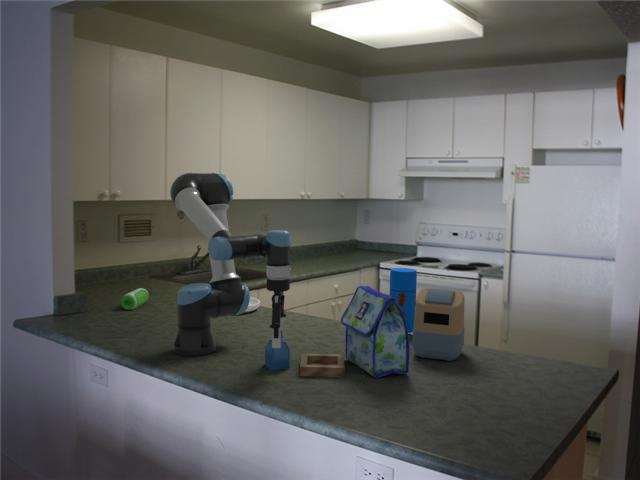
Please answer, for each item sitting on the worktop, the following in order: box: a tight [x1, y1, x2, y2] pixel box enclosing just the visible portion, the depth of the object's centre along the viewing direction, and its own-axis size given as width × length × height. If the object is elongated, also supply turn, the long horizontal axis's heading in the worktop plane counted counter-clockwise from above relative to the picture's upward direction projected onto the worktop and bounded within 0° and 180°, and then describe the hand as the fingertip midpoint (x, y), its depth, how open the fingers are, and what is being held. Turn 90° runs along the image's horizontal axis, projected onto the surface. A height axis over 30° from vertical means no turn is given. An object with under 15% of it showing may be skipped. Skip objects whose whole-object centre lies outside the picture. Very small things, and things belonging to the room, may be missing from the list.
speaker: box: [120, 287, 150, 311], centre depth 283 cm, size 18×7×8 cm, turn 174°
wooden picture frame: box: [299, 353, 346, 378], centre depth 198 cm, size 14×14×3 cm
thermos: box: [388, 267, 418, 334], centre depth 249 cm, size 11×11×25 cm
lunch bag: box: [340, 285, 411, 379], centre depth 199 cm, size 22×17×26 cm
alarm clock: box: [412, 287, 466, 362], centre depth 215 cm, size 17×17×23 cm
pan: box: [243, 296, 261, 314], centre depth 287 cm, size 25×44×6 cm, turn 51°
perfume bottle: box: [264, 330, 291, 371], centre depth 200 cm, size 6×6×12 cm
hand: (278, 342), depth 199 cm, fingers open, 13 cm apart
